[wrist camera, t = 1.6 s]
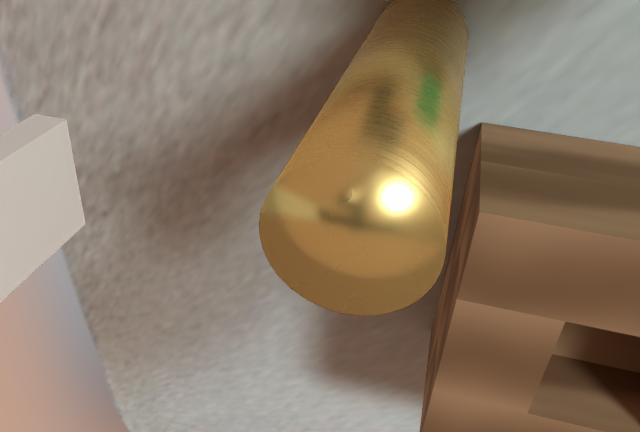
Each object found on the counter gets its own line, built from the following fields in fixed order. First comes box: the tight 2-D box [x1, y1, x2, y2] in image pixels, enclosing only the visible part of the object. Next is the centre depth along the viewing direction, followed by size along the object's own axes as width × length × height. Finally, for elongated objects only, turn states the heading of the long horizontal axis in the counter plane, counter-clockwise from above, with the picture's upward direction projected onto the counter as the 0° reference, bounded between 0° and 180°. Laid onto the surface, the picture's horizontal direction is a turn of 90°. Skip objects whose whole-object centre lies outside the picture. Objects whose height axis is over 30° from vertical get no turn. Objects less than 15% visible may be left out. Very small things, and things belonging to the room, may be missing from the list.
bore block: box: [420, 123, 640, 432], centre depth 23 cm, size 12×12×7 cm
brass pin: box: [259, 0, 468, 316], centre depth 17 cm, size 4×4×14 cm
